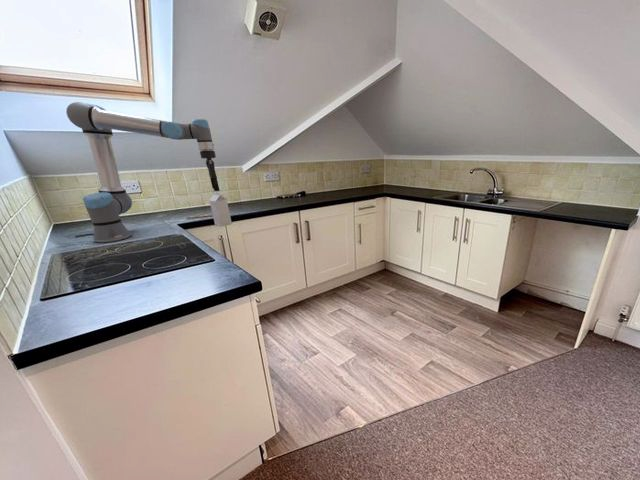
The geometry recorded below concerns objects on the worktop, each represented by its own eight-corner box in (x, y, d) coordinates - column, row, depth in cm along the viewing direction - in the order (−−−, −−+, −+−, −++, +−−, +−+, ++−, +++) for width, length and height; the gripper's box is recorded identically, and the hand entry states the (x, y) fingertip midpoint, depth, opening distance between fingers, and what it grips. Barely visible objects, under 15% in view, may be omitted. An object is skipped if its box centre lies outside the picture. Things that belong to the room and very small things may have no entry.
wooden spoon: (187, 219, 198) (186, 217, 197) (187, 218, 202) (186, 216, 201) (212, 216, 205) (212, 214, 204) (211, 215, 208) (211, 213, 208)
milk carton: (221, 226, 178) (213, 194, 170) (215, 225, 182) (207, 193, 174) (232, 224, 183) (225, 192, 175) (226, 222, 187) (219, 191, 179)
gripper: (216, 150, 157) (225, 191, 166) (212, 150, 177) (220, 186, 186) (200, 151, 154) (210, 193, 163) (198, 150, 174) (207, 188, 183)
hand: (216, 189), depth 174 cm, fingers open, 13 cm apart
